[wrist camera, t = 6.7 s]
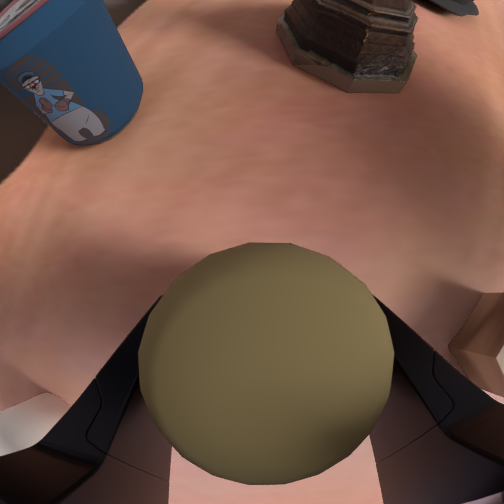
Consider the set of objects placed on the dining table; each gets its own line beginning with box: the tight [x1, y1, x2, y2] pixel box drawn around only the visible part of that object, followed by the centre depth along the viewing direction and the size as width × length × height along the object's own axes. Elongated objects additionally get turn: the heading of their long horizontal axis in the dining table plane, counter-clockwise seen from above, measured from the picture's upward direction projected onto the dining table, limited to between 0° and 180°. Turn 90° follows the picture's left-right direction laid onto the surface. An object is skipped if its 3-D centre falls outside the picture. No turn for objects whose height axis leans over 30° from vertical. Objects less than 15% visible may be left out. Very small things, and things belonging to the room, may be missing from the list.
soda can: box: [0, 0, 143, 145], centre depth 11 cm, size 7×7×12 cm
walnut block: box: [448, 293, 504, 397], centre depth 12 cm, size 5×5×5 cm
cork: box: [138, 243, 394, 485], centre depth 9 cm, size 6×6×11 cm
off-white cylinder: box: [0, 393, 71, 456], centre depth 11 cm, size 5×5×7 cm
